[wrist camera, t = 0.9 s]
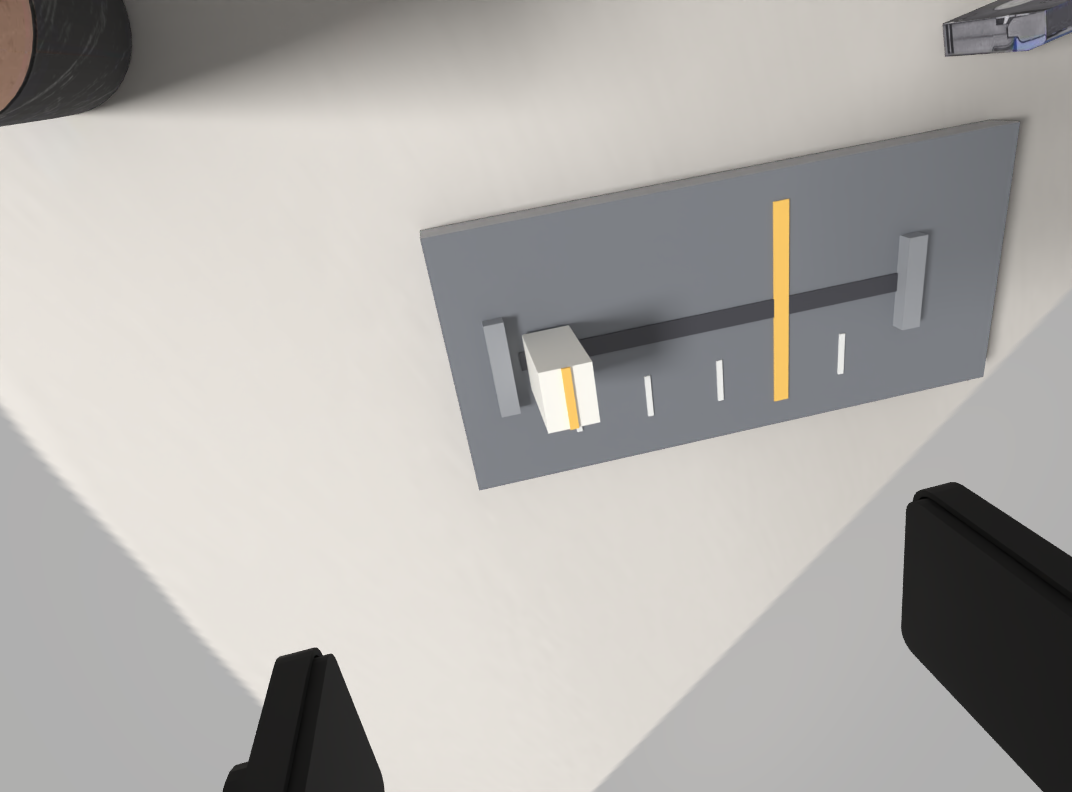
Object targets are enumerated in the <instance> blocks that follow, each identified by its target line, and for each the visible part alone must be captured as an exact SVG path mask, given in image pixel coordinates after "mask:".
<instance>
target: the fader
mask: <svg viewBox="0 0 1072 792" xmlns="http://www.w3.org/2000/svg"><path fill="white" fill-rule="evenodd" d="M522 339H523V345H524V350H525V356H526V361H527V367H528V372H529V378H530V383H531V389H532V392H533V394H534V397H535V399H536V402H537V405H538V407H539V410H540V413H541V415H542V418H543V420H544V423H545V426H546V428H547V431H548V434H549V433H554V432H558V431H563V430H567V429H570V430H573V429H578V428H579V427H581V426H585V425H590V424H594V423H599V422H600V416H599V409H598V401H597V394H596V386H595V379H594V371H593V364H592V361H591V359H590V357H589V356H588V354H587V353H586V351H585V350H584V348H583V347H582V345H581V343H580V342H579V340H578V339H577V337H576V336H575V334H574V333H573V331H572V329H571V328H570V326H569V325H567V326H562V327H557V328H553V329H548V330H543V331H538V332H533V333H529V334H524V335H522Z"/></svg>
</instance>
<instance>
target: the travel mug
mask: <svg viewBox="0 0 1072 792" xmlns="http://www.w3.org/2000/svg"><path fill="white" fill-rule="evenodd" d="M131 48H132V45H131V30H130V23H129V19H128V15H127V12H126V9H125V6H124V4H123V1H122V0H0V126H7V125H13V124H20V123H27V122H33V121H40V120H47V119H53V118H59V117H64V116H69V115H74V114H79V113H82V112H85V111H88V110H90V109H93V108H94V107H96V106H98V105H100V104H102V103H103V102H104V101H105V100H107V99H108V98H109V97H110V96H111V95H112V94H113V93H114V92H115V91H116V90H117V88H118V87H119V85H120V84H121V82H122V80H123V79H124V76H125V74H126V72H127V69H128V65H129V62H130V56H131Z"/></svg>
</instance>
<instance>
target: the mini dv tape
mask: <svg viewBox="0 0 1072 792" xmlns="http://www.w3.org/2000/svg"><path fill="white" fill-rule="evenodd" d="M1071 32H1072V0H997V1H995V2H993V3H990V4H988V5H986V6H983V7H981V8H978V9H976V10H974V11H971V12H969V13H967V14H964V15H962V16H960V17H957V18H955V19H953V20H950V21H948V22H945V23H943V35H944V47H945V56H946V57H947V56H961V55H975V54H989V53H1003V52H1017V51H1029V50H1031V49H1033V48H1036V47H1038V46H1041V45H1043V44H1045V43H1048V42H1050V41H1052V40H1055V39H1057V38H1059V37H1062V36H1064V35H1066V34H1069V33H1071Z"/></svg>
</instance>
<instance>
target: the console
mask: <svg viewBox="0 0 1072 792" xmlns="http://www.w3.org/2000/svg"><path fill="white" fill-rule="evenodd" d="M1019 127H1020V122H1019V121H1000V120H986V121H981V122H976V123H971V124H966V125H961V126H955V127H950V128H945V129H940V130H935V131H930V132H925V133H919V134H914V135H909V136H904V137H899V138H894V139H889V140H883V141H878V142H873V143H868V144H863V145H858V146H853V147H847V148H842V149H837V150H832V151H827V152H822V153H816V154H811V155H806V156H801V157H796V158H791V159H786V160H780V161H775V162H770V163H765V164H760V165H755V166H750V167H744V168H739V169H734V170H729V171H724V172H719V173H714V174H708V175H703V176H698V177H693V178H688V179H683V180H678V181H672V182H667V183H662V184H657V185H652V186H647V187H642V188H636V189H631V190H626V191H621V192H616V193H611V194H606V195H600V196H595V197H590V198H585V199H580V200H575V201H570V202H564V203H559V204H554V205H549V206H544V207H539V208H534V209H528V210H523V211H518V212H513V213H508V214H503V215H498V216H492V217H487V218H482V219H477V220H472V221H467V222H462V223H456V224H451V225H446V226H441V227H436V228H431V229H426V230H420V240H421V245H422V249H423V253H424V257H425V262H426V266H427V270H428V274H429V279H430V283H431V287H432V291H433V295H434V300H435V304H436V308H437V312H438V317H439V321H440V325H441V329H442V334H443V338H444V342H445V346H446V351H447V355H448V359H449V363H450V368H451V372H452V376H453V380H454V385H455V389H456V393H457V397H458V402H459V406H460V410H461V414H462V419H463V423H464V427H465V431H466V436H467V440H468V444H469V448H470V453H471V457H472V461H473V465H474V470H475V474H476V478H477V482H478V487H479V490H483V489H488V488H492V487H497V486H501V485H505V484H510V483H514V482H519V481H523V480H528V479H532V478H536V477H541V476H545V475H550V474H554V473H559V472H563V471H567V470H572V469H576V468H581V467H585V466H590V465H594V464H598V463H603V462H607V461H612V460H616V459H621V458H625V457H630V456H634V455H638V454H643V453H647V452H652V451H656V450H661V449H665V448H669V447H674V446H678V445H683V444H687V443H692V442H696V441H700V440H705V439H709V438H714V437H718V436H723V435H727V434H731V433H736V432H740V431H745V430H749V429H754V428H758V427H762V426H767V425H771V424H776V423H780V422H785V421H789V420H793V419H798V418H802V417H807V416H811V415H816V414H820V413H825V412H829V411H833V410H838V409H842V408H847V407H851V406H856V405H860V404H864V403H869V402H873V401H878V400H882V399H887V398H891V397H895V396H900V395H904V394H909V393H913V392H918V391H922V390H926V389H931V388H935V387H940V386H944V385H949V384H953V383H957V382H962V381H966V380H971V379H975V378H980V377H983V375H984V368H985V361H986V354H987V347H988V340H989V333H990V327H991V320H992V313H993V306H994V299H995V292H996V285H997V278H998V271H999V265H1000V258H1001V251H1002V244H1003V237H1004V230H1005V223H1006V216H1007V209H1008V203H1009V196H1010V189H1011V182H1012V175H1013V168H1014V161H1015V154H1016V147H1017V140H1018V134H1019ZM567 325H569V326H570V328H571V329H572V331H573V333H574V334H575V336H576V337H577V339H578V340H579V342H580V343H581V345H582V347H583V348H584V350H585V351H586V353H587V354H588V356H589V357H590V359H591V361H592V364H593V371H594V379H595V386H596V394H597V401H598V409H599V416H600V422H599V423H594V424H590V425H585V426H581V427H579V428H578V429H573V430H570V429H567V430H563V431H558V432H554V433H549V434H548V431H547V428H546V426H545V423H544V420H543V418H542V415H541V413H540V410H539V407H538V405H537V402H536V399H535V397H534V394H533V392H532V389H531V383H530V378H529V372H528V367H527V361H526V356H525V350H524V345H523V339H522V335H524V334H529V333H533V332H538V331H543V330H548V329H553V328H557V327H562V326H567Z"/></svg>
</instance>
